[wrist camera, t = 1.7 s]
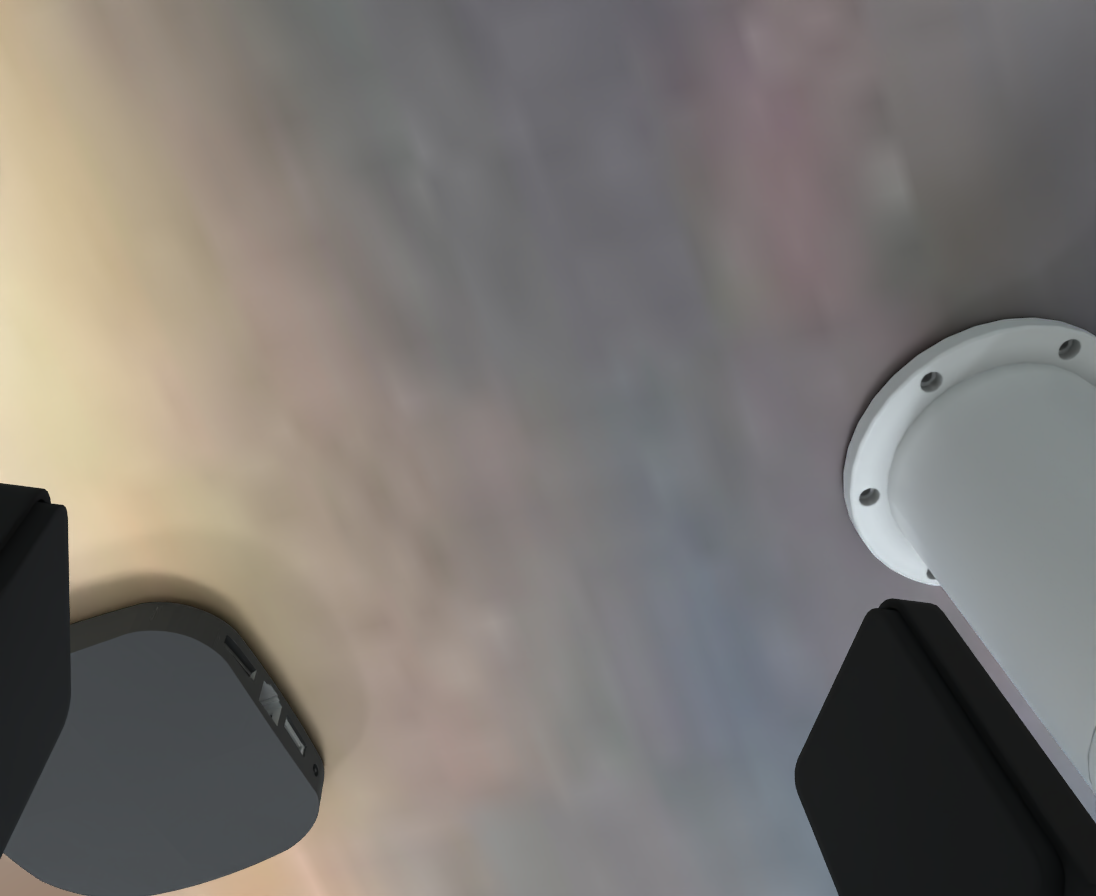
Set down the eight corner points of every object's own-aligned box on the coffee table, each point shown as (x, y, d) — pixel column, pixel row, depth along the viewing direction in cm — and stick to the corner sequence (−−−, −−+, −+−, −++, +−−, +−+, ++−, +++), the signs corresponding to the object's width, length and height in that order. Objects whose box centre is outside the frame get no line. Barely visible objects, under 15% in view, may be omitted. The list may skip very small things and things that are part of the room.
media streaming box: (-95, 675, 41) (-132, 725, 39) (207, 572, 40) (190, 617, 38) (89, 875, 48) (68, 929, 46) (352, 793, 47) (346, 844, 44)
